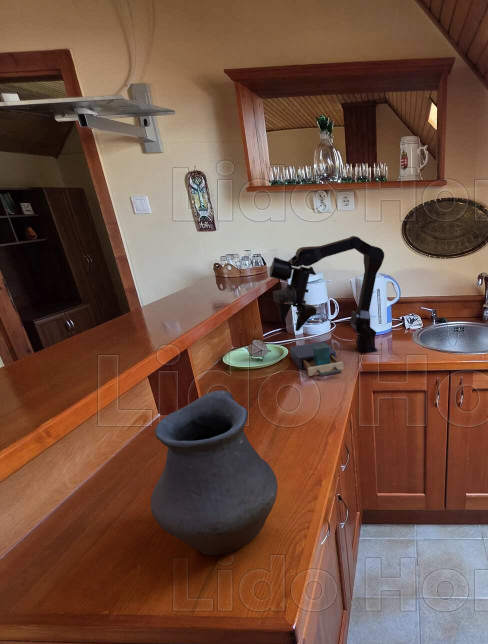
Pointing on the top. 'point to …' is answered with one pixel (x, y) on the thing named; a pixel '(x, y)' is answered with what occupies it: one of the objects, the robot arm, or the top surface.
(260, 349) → the game die
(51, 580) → the top surface
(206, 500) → the dark grey clay pot
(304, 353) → the cabinet
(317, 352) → the block
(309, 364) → the drawer
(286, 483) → the top surface
